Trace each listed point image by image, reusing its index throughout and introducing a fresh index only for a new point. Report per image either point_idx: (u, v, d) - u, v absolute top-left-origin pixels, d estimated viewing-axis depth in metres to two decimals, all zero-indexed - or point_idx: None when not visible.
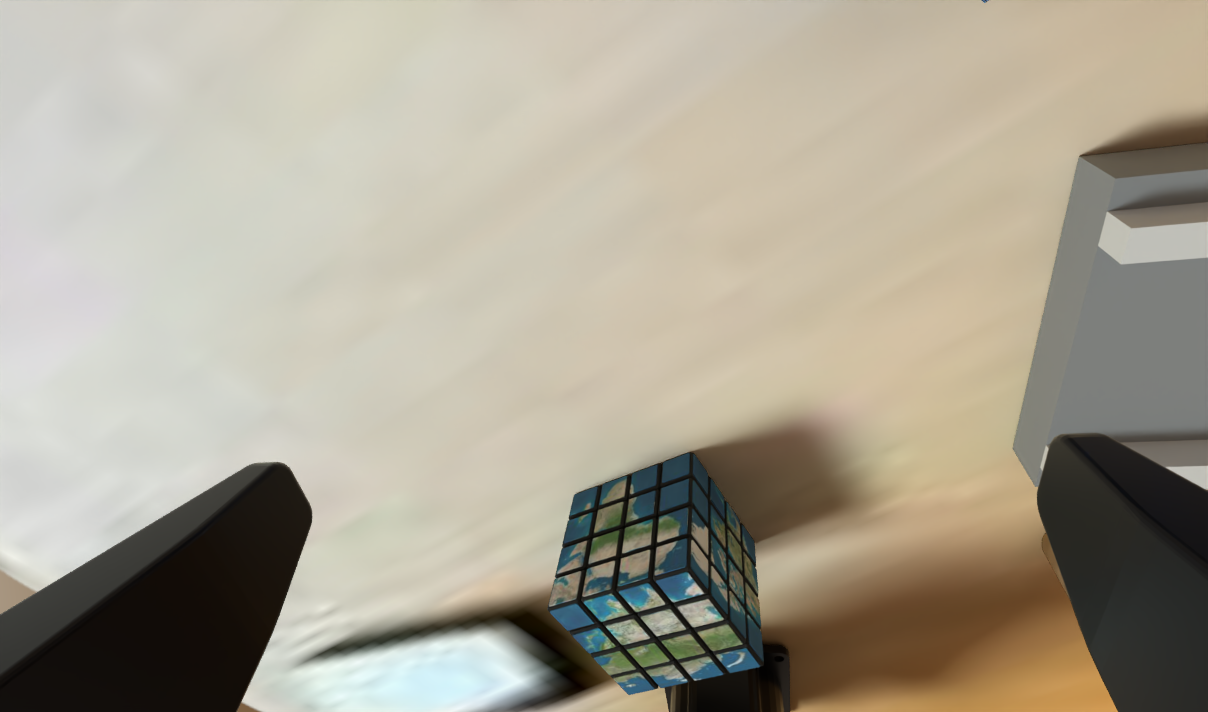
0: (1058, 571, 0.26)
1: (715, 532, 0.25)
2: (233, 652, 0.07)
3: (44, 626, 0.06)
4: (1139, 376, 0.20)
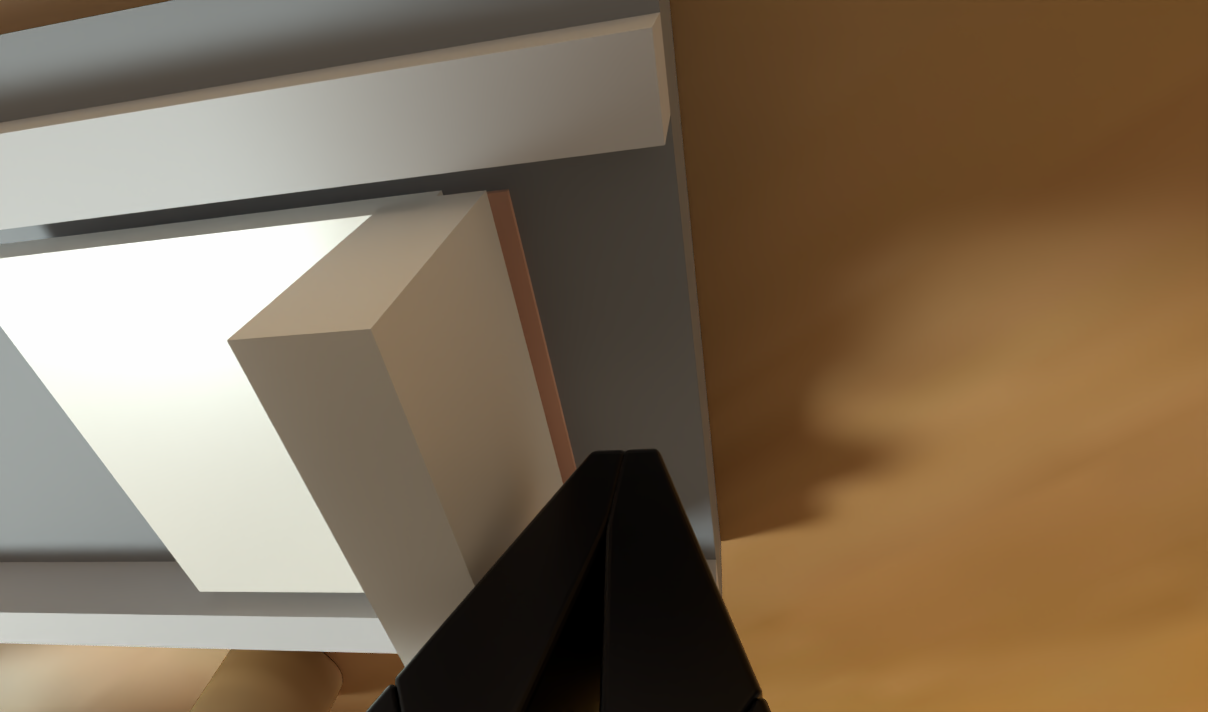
0: None
1: None
2: None
3: (518, 635, 0.05)
4: None
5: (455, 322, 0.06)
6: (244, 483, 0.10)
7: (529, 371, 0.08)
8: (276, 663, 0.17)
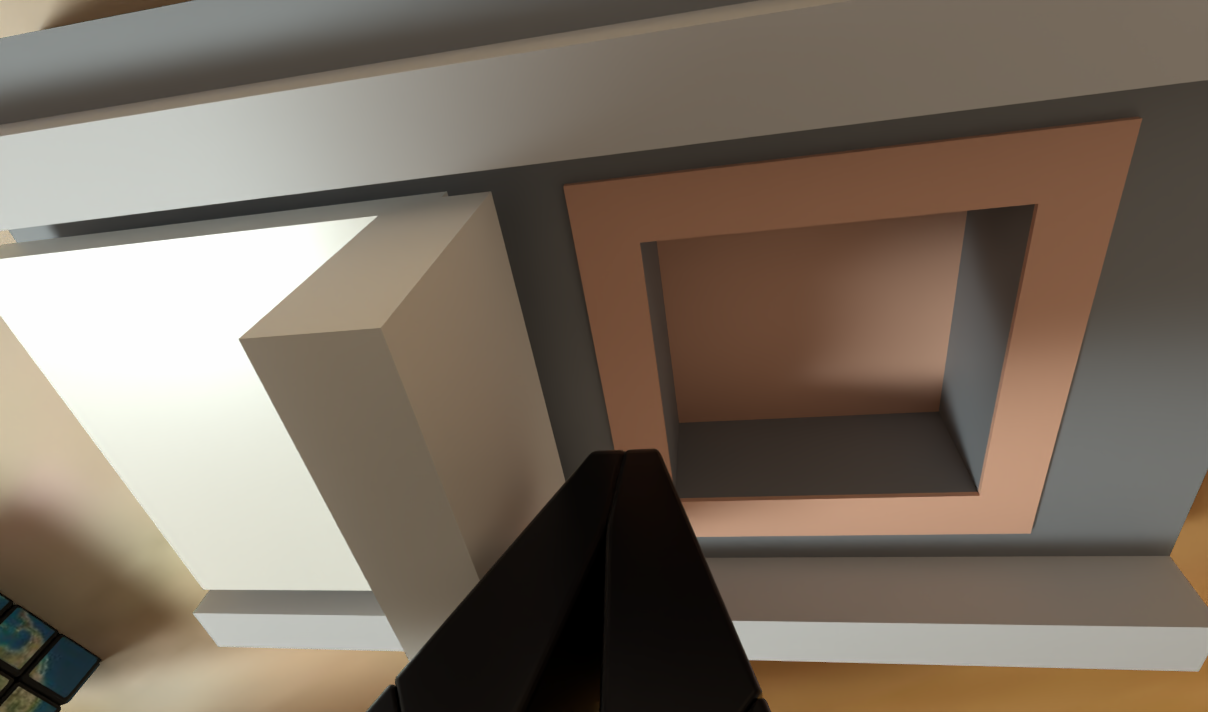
0: None
1: None
2: None
3: (518, 635, 0.05)
4: None
5: (462, 321, 0.06)
6: (249, 481, 0.10)
7: (533, 370, 0.08)
8: None
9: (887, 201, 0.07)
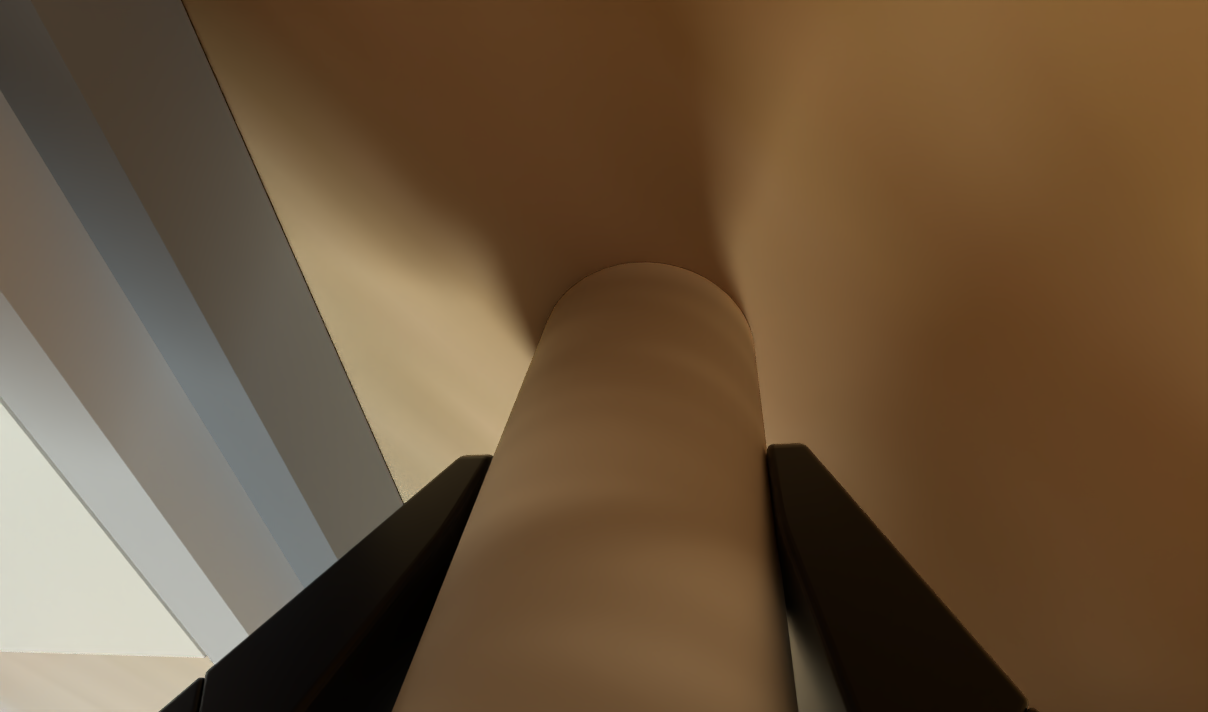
0: None
1: None
2: None
3: (330, 631, 0.05)
4: None
5: None
6: None
7: None
8: (536, 349, 0.09)
9: None
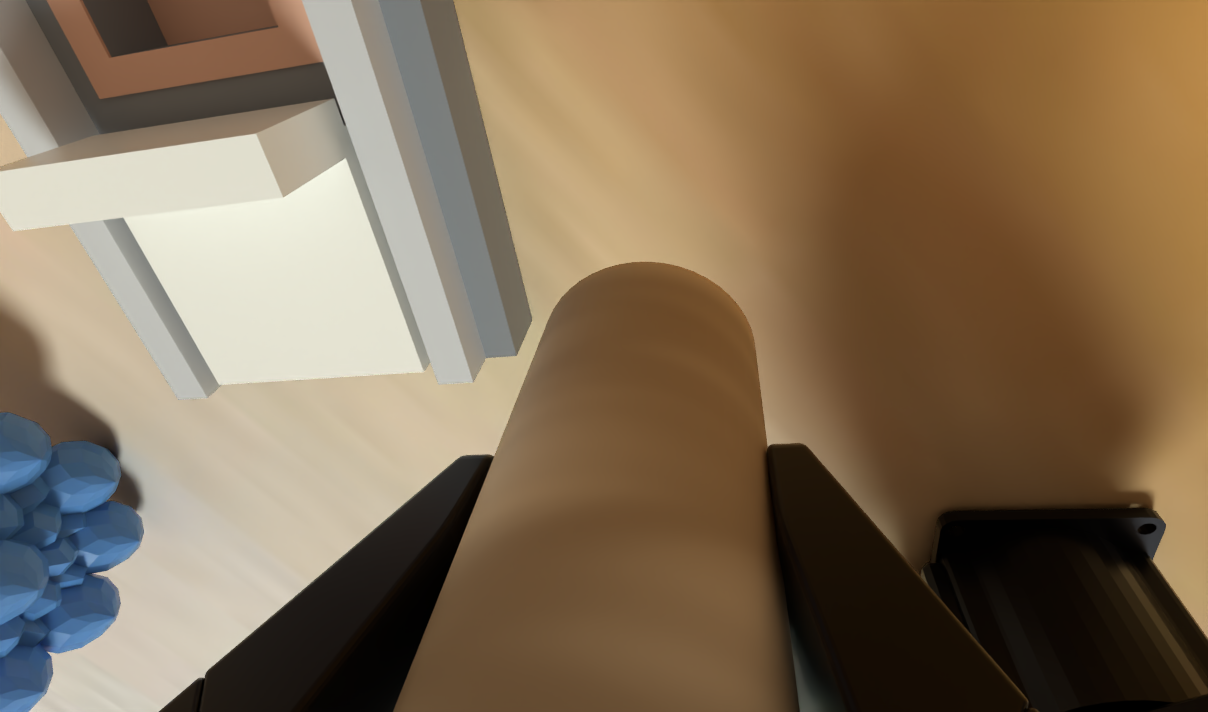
0: None
1: None
2: None
3: (330, 631, 0.05)
4: None
5: (59, 152, 0.14)
6: (307, 307, 0.17)
7: (171, 124, 0.15)
8: (537, 349, 0.09)
9: None
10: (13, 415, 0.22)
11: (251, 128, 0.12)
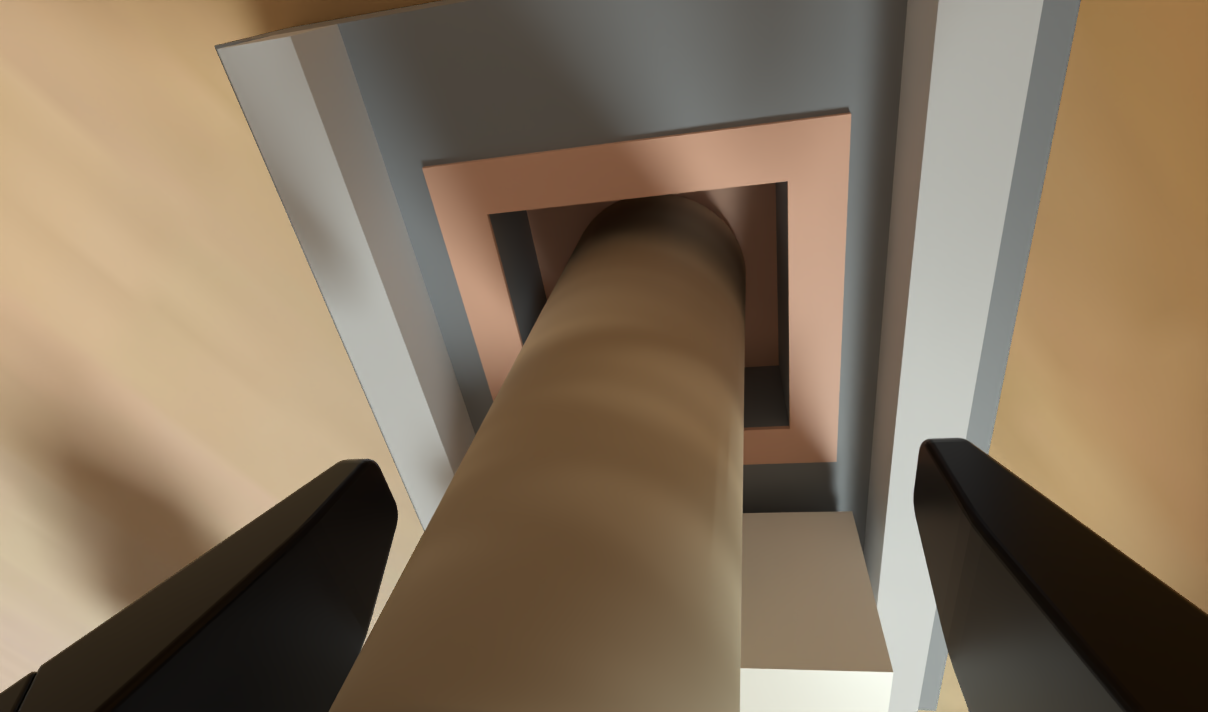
0: None
1: None
2: (333, 654, 0.07)
3: (164, 628, 0.06)
4: None
5: None
6: None
7: None
8: None
9: (499, 306, 0.11)
10: None
11: (847, 631, 0.10)
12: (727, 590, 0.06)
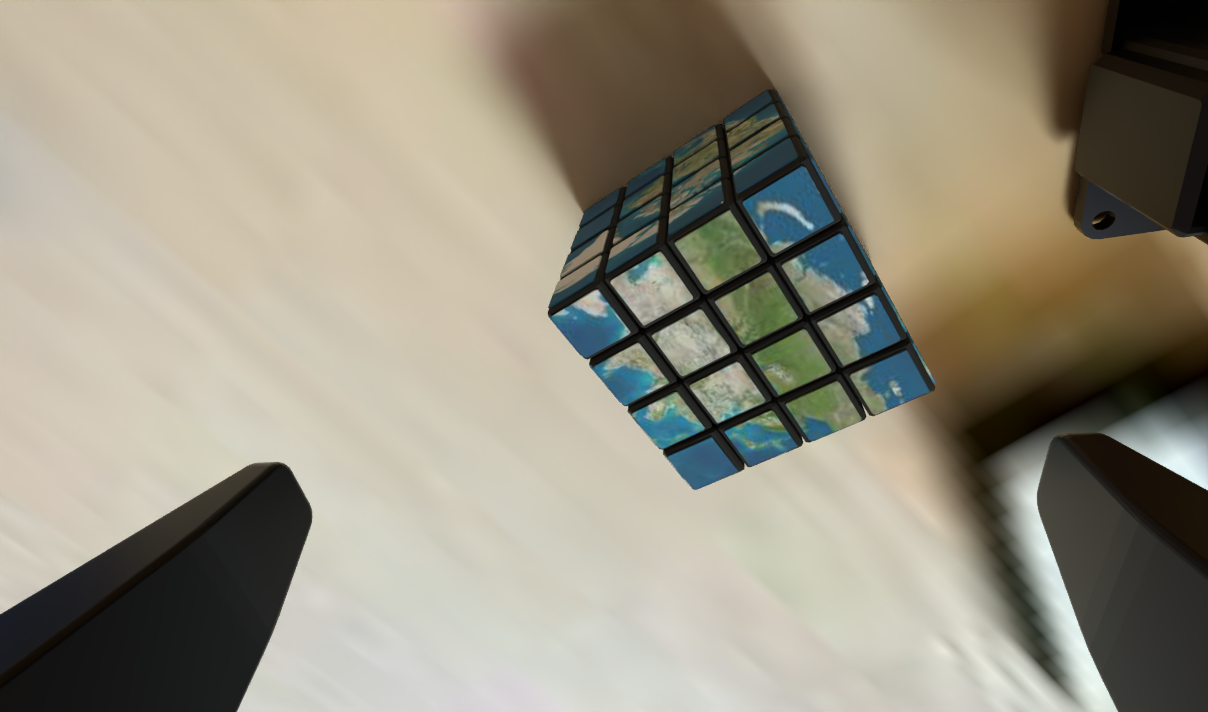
0: None
1: (631, 209, 0.15)
2: (233, 652, 0.07)
3: (44, 625, 0.06)
4: None
5: None
6: None
7: None
8: None
9: None
10: None
11: None
12: None
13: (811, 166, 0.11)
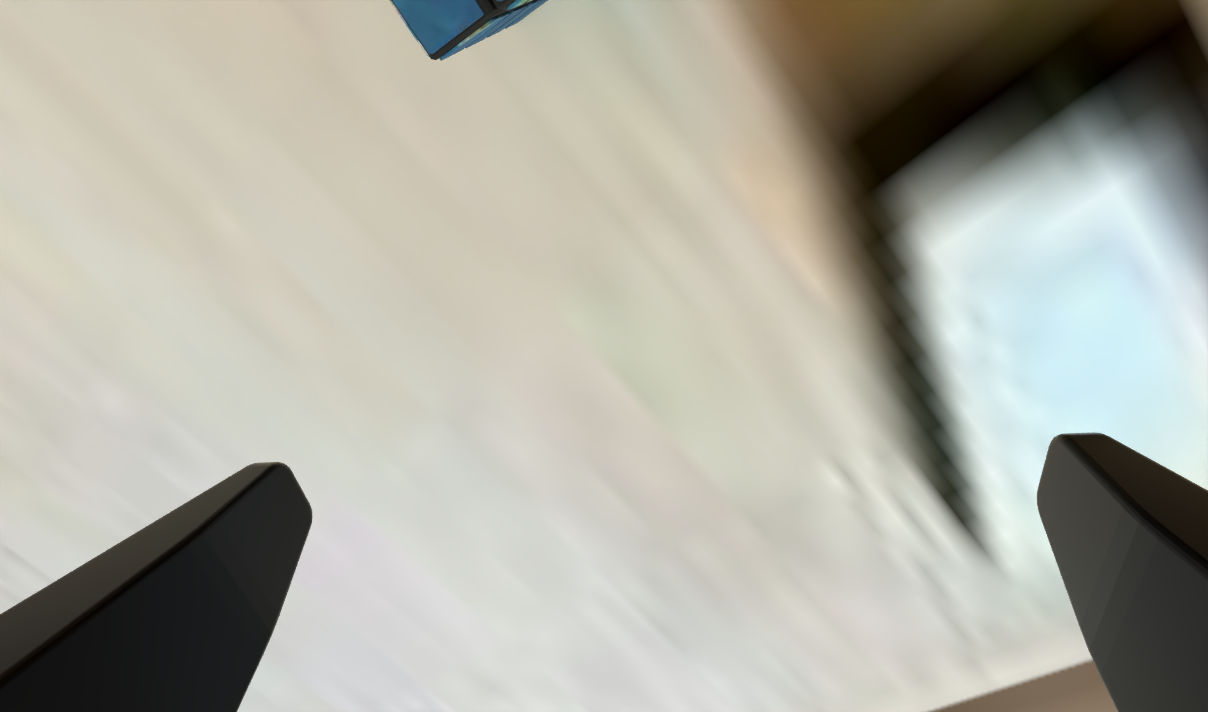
0: None
1: None
2: (233, 652, 0.07)
3: (44, 626, 0.06)
4: None
5: None
6: None
7: None
8: None
9: None
10: None
11: None
12: None
13: None
